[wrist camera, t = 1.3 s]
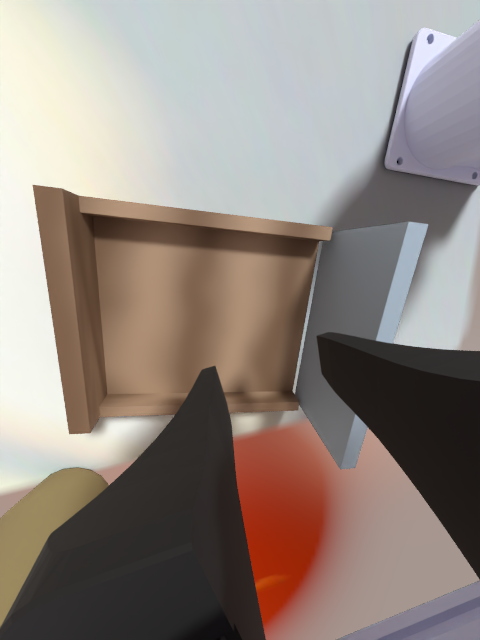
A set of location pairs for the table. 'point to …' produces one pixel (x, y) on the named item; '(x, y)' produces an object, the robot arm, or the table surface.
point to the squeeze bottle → (39, 525)
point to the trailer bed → (172, 304)
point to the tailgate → (354, 318)
